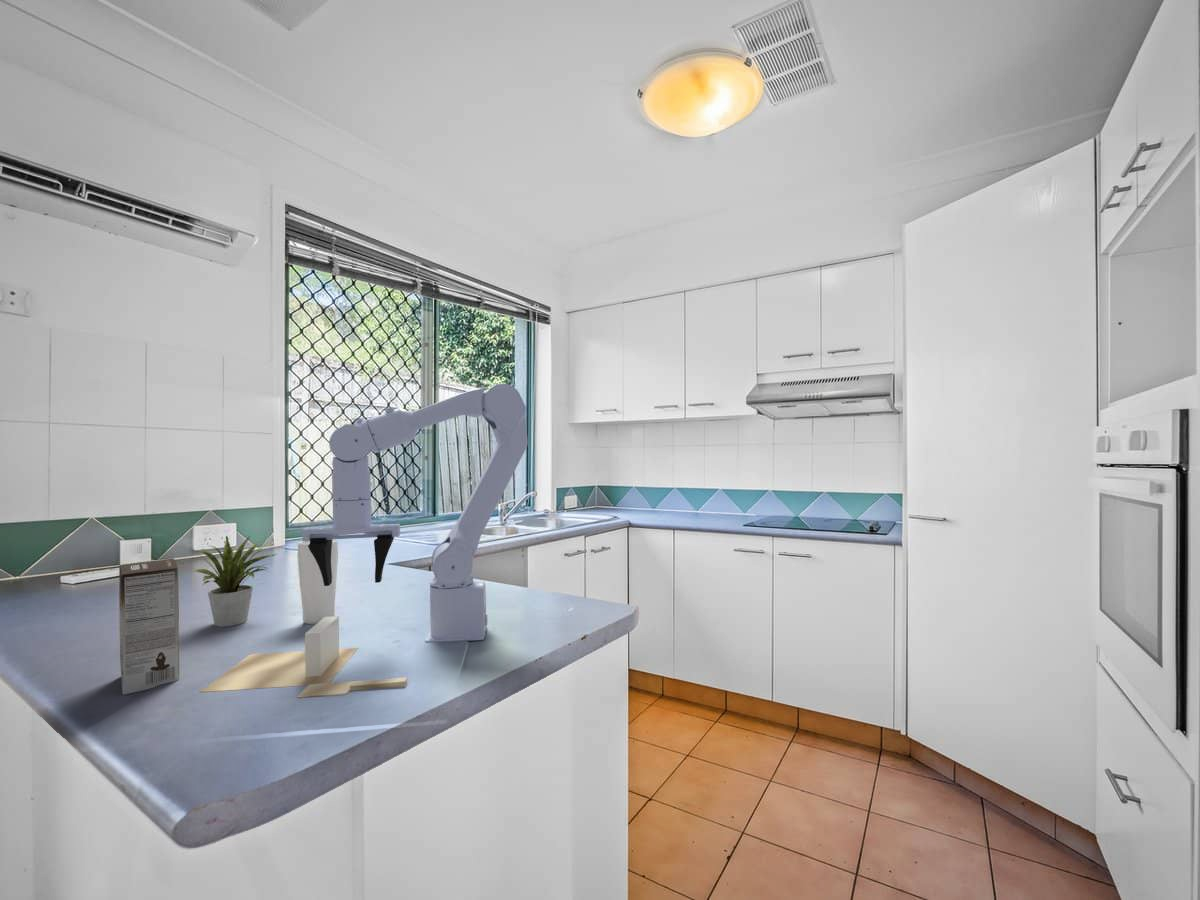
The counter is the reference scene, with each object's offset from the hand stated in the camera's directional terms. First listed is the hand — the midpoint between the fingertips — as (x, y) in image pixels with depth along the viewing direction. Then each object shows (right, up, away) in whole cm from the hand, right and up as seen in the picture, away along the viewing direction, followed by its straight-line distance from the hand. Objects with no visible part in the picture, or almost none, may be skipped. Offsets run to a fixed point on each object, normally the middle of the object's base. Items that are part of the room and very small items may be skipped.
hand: (353, 583), depth 92 cm
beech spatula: (+8, -10, -17) cm, 22 cm away
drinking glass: (-13, -11, +14) cm, 22 cm away
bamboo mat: (-5, -10, -10) cm, 15 cm away
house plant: (-29, -11, +13) cm, 33 cm away
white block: (0, -10, -9) cm, 14 cm away
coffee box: (-23, -11, -13) cm, 28 cm away
